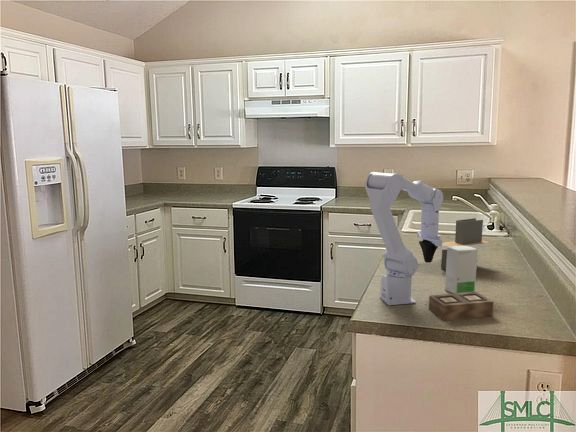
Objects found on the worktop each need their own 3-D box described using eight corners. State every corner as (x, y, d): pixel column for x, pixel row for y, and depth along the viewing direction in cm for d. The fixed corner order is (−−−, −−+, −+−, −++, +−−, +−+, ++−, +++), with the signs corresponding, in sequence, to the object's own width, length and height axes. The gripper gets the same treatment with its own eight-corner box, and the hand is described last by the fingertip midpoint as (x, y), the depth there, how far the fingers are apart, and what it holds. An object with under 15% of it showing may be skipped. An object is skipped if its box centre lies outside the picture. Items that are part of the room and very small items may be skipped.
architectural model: (447, 284, 175) (450, 231, 171) (402, 267, 197) (404, 219, 194) (520, 270, 191) (524, 221, 187) (471, 255, 213) (474, 212, 210)
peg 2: (469, 313, 145) (470, 300, 144) (462, 309, 149) (463, 296, 148) (481, 312, 146) (482, 299, 145) (474, 308, 149) (474, 295, 149)
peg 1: (445, 316, 143) (445, 302, 143) (438, 311, 147) (439, 298, 146) (457, 314, 144) (458, 301, 143) (450, 310, 148) (451, 297, 147)
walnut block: (443, 320, 141) (444, 305, 140) (428, 309, 149) (429, 294, 148) (492, 315, 144) (493, 300, 143) (475, 305, 152) (476, 291, 151)
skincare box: (455, 295, 162) (457, 250, 159) (443, 289, 168) (445, 246, 165) (476, 293, 164) (478, 248, 161) (463, 287, 170) (466, 244, 167)
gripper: (451, 226, 156) (449, 266, 159) (430, 218, 170) (429, 255, 173) (431, 227, 155) (429, 268, 157) (412, 219, 169) (410, 256, 171)
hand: (428, 261), depth 165 cm, fingers closed
